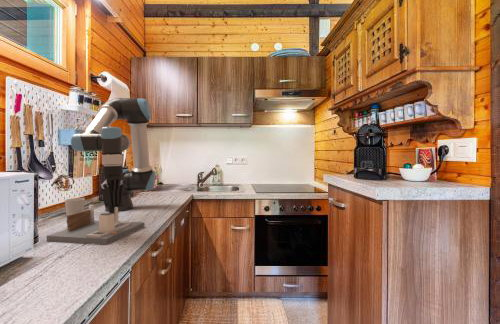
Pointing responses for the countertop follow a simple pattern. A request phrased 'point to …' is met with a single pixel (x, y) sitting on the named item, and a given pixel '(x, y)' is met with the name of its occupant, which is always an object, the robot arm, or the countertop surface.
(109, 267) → the countertop surface
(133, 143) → the robot arm
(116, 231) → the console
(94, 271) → the countertop surface
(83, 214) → the door
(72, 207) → the cup
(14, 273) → the countertop surface
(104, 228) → the fader knob
